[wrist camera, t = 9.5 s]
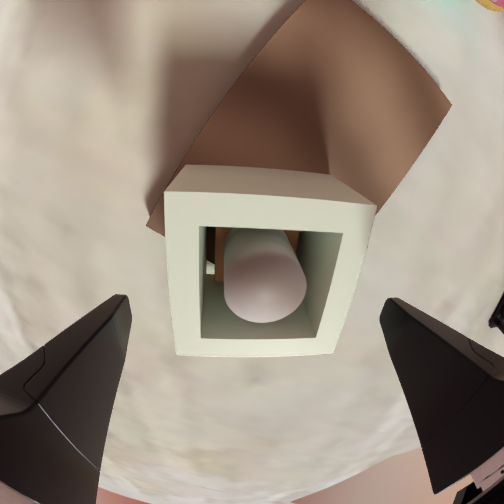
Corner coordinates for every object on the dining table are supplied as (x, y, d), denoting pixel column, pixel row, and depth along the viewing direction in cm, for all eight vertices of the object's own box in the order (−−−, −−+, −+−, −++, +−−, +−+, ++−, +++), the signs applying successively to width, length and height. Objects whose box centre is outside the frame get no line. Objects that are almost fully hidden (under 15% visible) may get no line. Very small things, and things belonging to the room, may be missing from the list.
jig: (293, 299, 18) (317, 371, 13) (149, 220, 15) (112, 279, 9) (442, 104, 13) (514, 114, 7) (319, -12, 9) (364, -61, 4)
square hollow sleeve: (307, 292, 17) (332, 353, 12) (187, 290, 16) (176, 355, 11) (329, 174, 13) (377, 205, 9) (185, 164, 13) (163, 191, 8)
